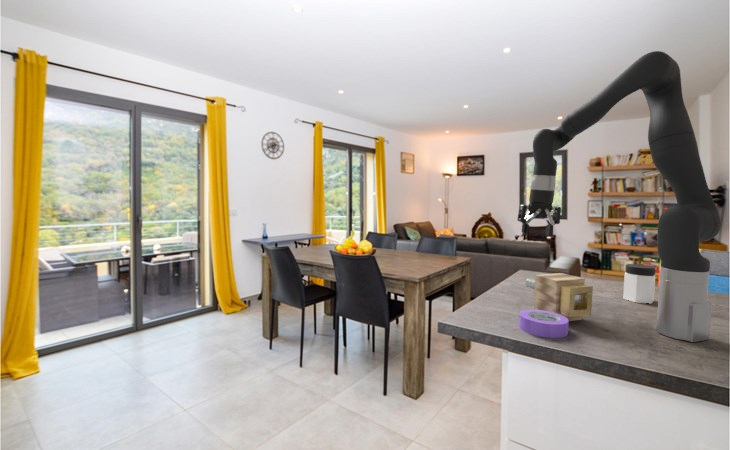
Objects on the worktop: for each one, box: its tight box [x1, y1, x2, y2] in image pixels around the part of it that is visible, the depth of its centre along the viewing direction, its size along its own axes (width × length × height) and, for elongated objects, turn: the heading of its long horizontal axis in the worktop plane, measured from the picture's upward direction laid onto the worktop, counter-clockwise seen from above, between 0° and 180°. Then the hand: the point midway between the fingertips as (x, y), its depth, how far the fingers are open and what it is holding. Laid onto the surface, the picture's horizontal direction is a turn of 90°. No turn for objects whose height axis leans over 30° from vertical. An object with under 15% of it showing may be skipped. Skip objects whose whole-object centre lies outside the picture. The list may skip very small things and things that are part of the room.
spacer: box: [560, 283, 594, 317], centre depth 98 cm, size 3×8×8 cm, turn 107°
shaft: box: [524, 277, 584, 304], centre depth 106 cm, size 19×3×3 cm, turn 17°
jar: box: [622, 263, 657, 305], centre depth 121 cm, size 9×8×12 cm
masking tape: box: [518, 309, 570, 339], centre depth 94 cm, size 12×12×4 cm
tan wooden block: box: [533, 272, 585, 322], centre depth 104 cm, size 8×10×12 cm
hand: (536, 235), depth 124 cm, fingers open, 8 cm apart
